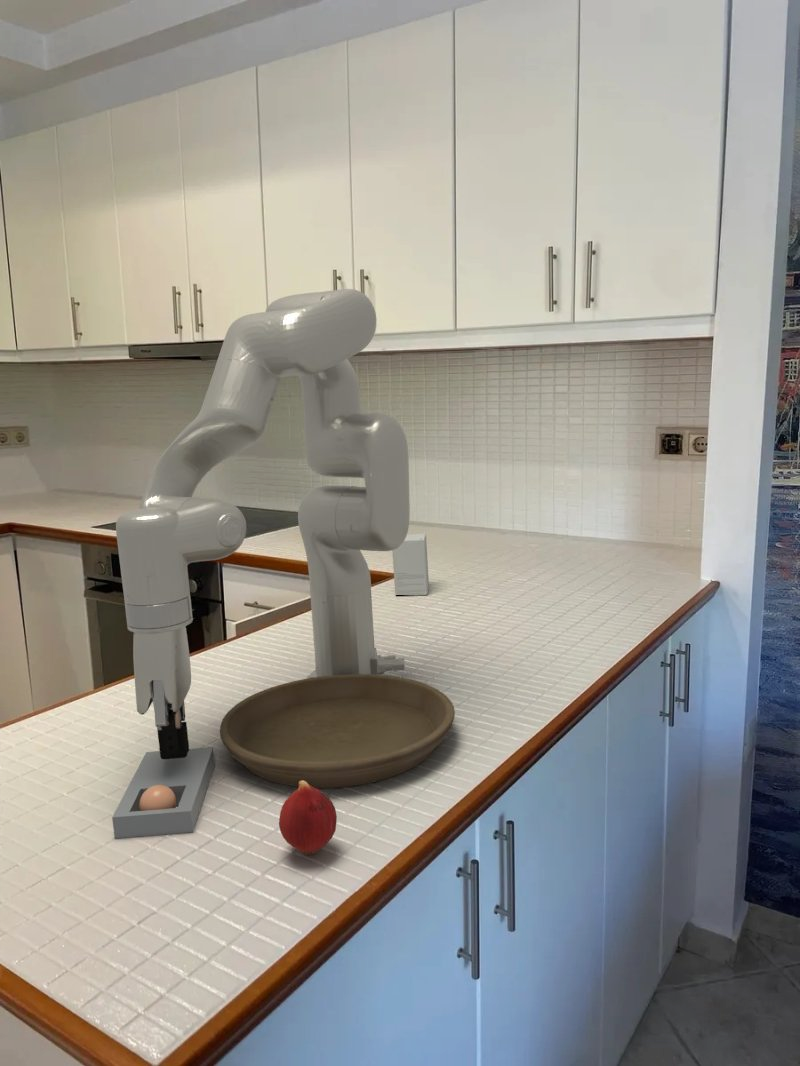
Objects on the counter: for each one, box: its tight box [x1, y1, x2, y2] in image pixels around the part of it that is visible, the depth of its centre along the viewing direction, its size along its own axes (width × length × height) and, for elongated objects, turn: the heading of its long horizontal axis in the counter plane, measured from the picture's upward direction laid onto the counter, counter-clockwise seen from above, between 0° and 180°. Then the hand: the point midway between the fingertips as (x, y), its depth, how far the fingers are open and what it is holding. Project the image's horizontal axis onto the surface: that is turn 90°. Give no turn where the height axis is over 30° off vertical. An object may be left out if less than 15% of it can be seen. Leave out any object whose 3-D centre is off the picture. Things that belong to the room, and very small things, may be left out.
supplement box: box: [391, 533, 430, 596], centre depth 186 cm, size 7×7×13 cm
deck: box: [111, 746, 216, 839], centre depth 98 cm, size 8×16×2 cm, turn 4°
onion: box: [278, 780, 338, 856], centre depth 85 cm, size 6×6×8 cm
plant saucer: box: [219, 674, 456, 789], centre depth 111 cm, size 31×31×5 cm
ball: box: [139, 785, 177, 811], centre depth 93 cm, size 4×4×4 cm
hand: (175, 755), depth 103 cm, fingers closed
